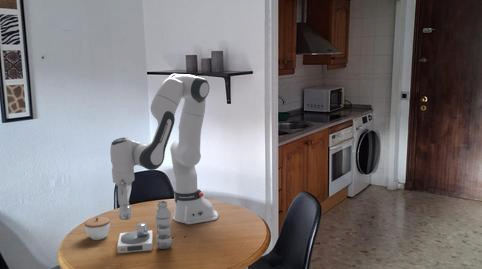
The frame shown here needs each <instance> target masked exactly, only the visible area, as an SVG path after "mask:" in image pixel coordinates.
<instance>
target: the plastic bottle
mask: <svg viewBox="0 0 482 269" xmlns="http://www.w3.org/2000/svg"><path fill="white" fill-rule="evenodd" d="M154 218H155V222H156V223H155V224H156V240H155V245H156V247H157V248H158V249H160V250H167V249H170V248H171V247H172V244H173V239H172V234H171V218H172V212H171V211H170V209H169V208H168V202H167V200H166V201H165V200H160V201H158V202H157V210H156V212H155V214H154Z"/></svg>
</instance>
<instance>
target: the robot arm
mask: <svg viewBox="0 0 482 269" xmlns="http://www.w3.org/2000/svg"><path fill="white" fill-rule="evenodd" d="M209 93H210V85H209V82H208V80H207V79H206V78H203V77H201V76H196V75H193V74H184V73H183V74H182V73H172V74H170V75H169V76H168V77H167V78H166V79H165V80H164V81H163V82H162V84H161V85H160V86H159V88H158V90H157V91H156V93H155V95H154V97H153V99H152V100H151V104H150V108H149V109H150V112H151V115H152V116H153V118H154V119H155V120H156V121H157V127H156V130H155V133H154V136H153V139H152V141H151V142H150V143H149V144H148V143H147V144H146V143H143V142H138V141H136V140H135V141H134V140H132V139H130V138H129V137H120V138H116V139H114V140H113V141H112V142H111V144H110V162H111V165H112V167H111V176H112V182H113V183H114V184H115V185H116V186H117V201H118V206H121V205H122V206H123V211H124V212H125V211H128V206H127V205H130V202H129V201H130V196H131V191H132V184H133V182H134V181H135V170H134V169H135V168H134V167H135V166H138V167H143V168H145V169H146V170H149V171H155V170H157V169H158V168H160V167H161V166H162V165H163V162H164V161H165V153H166V149H167V146H168V143H169V140H170V137H171V134H172V131H173V129H174V126H175V121H176V120H175V115H176V111H177V109H178V107H179V105H180V103H181V100H182V99H184V101H183V105H182V109H181V113H180V118H179V122H178V139H177V140H174V141H173V142H172V143H171V145H170V147H169V148H170V155H171V156H170V157H171V163H172V170H173V174H174V192H173V196H174V203H175V205H174V212H173V217H172V219H173V220H174V221H175V222H178V223H183V224H186V225H193V224H198V223H204V222H211V221H216V220H218V218H219V213H218V212H217V210H215V209H214V206H213V204H212V201H209V200H208V199H207V198H205V197H204V193H203V191H202V190H201V189H200V188H199V189H198V174H197V169H196V166H197V165H198V164H199V162H200V160H201V158H202V156H201V155H202V154H201V138H202V137H201V136H202V135H201V134H202V128H203V123H204V117H205V114H206V113H205V112H206V103H207V102H206V98H207V97H208V96H209Z"/></svg>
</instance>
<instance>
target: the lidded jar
mask: <svg viewBox="0 0 482 269" xmlns="http://www.w3.org/2000/svg"><path fill="white" fill-rule="evenodd" d="M84 228H85V232H86V234H87V236H88V237H89V238H90V239H91V240H93V241H99V240H104V239H105V238H106V237H107V236H108V233H109V232H110V228H111V219H110V218H109V217H107V216H96V217H91V218H88V219H87V220H85V222H84Z"/></svg>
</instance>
